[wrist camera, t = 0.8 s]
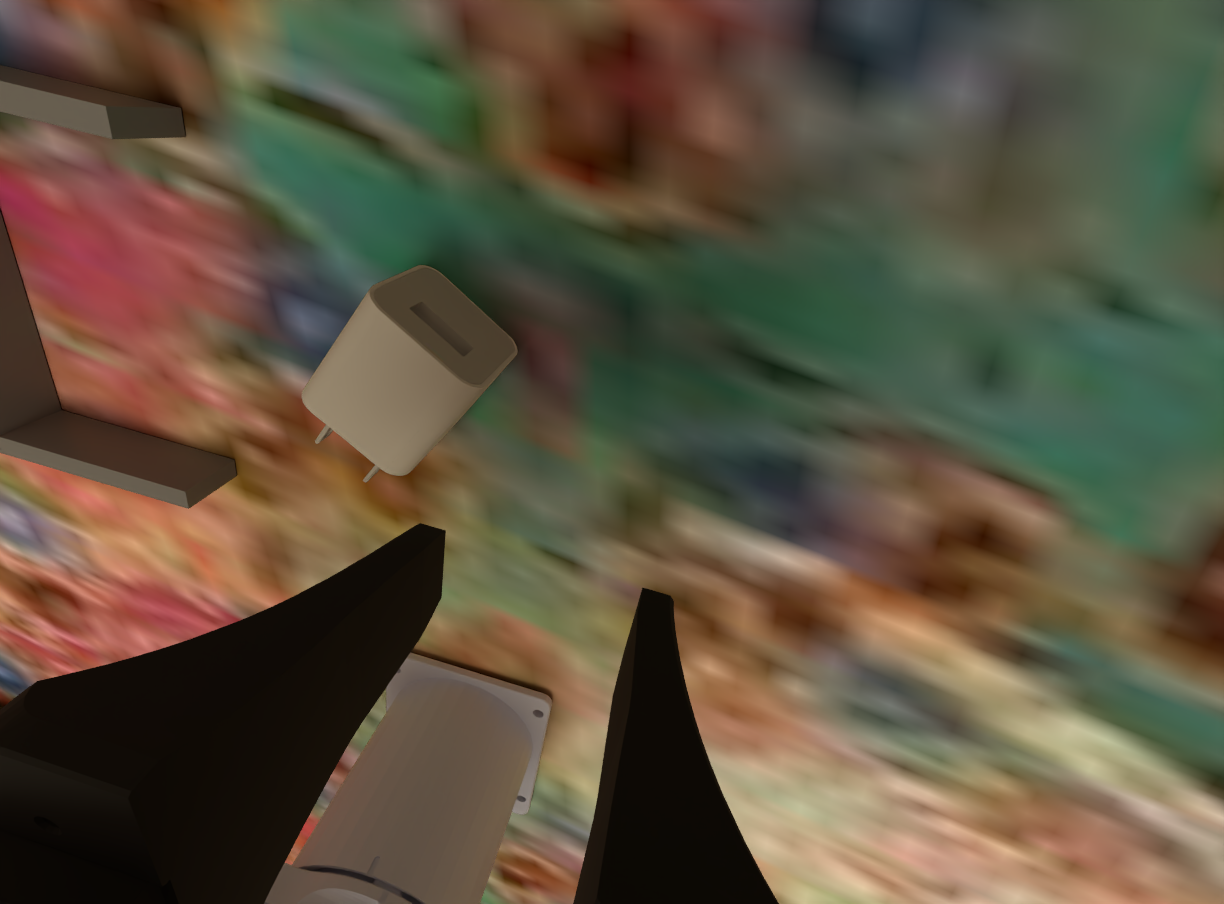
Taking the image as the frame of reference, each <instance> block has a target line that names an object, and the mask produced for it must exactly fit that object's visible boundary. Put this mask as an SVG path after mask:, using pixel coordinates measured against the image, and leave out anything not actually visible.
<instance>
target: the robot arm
mask: <svg viewBox="0 0 1224 904" xmlns="http://www.w3.org/2000/svg"><path fill="white" fill-rule="evenodd" d="M445 532H446V531H445V530H442V529H438V528H435V527H431V526H428V525H424V524H421V523H420V524H418V525H416V526H414V527H413V528H411V529H409V530H408V531H406V532H404V533H403V534H401V535H400V536H398V537H396V538H395V539H393V540H392V541H390V542H388V543H387V544H385V545H384V546H382V547H380V548H379V549H377V550H375V551H374V552H372V553H371V554H369V555H367V556H366V557H364V558H362V559H361V560H359V561H357V562H355V563H354V564H352V565H350V566H349V567H347V568H345V569H344V570H342V571H340V572H338V573H337V574H335V575H333V576H331V577H330V578H328V579H326V580H324V581H322V582H320V583H318V584H316V585H315V586H313V587H311V588H309V589H307V590H305V591H303V592H301V593H299V594H298V595H296V596H294V597H292V598H290V599H287V600H285V601H283V602H281V603H279V604H277V605H275V606H273V607H271V608H268V609H266V610H264V611H262V612H259V613H257V614H255V615H252V616H250V617H248V618H245V619H243V620H241V621H238V622H236V623H233V624H230V625H228V626H225V627H222V628H219V629H217V630H214V631H211V632H209V633H206V634H203V635H201V636H198V637H195V638H193V639H190V640H187V641H184V642H181V643H178V644H175V645H172V646H169V647H166V648H162V649H159V650H156V651H153V652H149V653H146V654H143V655H139V656H136V657H133V658H129V659H126V660H122V661H118V662H115V663H111V664H107V665H103V666H99V667H95V668H91V669H87V670H83V671H79V672H74V673H70V674H66V675H62V676H58V677H54V678H49V679H45V680H40V681H37V682H36V683H34V684H33V685H31V686H30V687H29V688H27V689H26V690H25V691H23V692H22V693H21V694H19V695H18V696H17V697H16V698H14V699H13V700H12V701H10V702H9V703H8V704H7V705H5V706H4V707H3V708H1V709H0V904H480V902H481V899H482V896H483V893H484V890H485V887H486V884H487V881H488V879H489V876H490V873H491V870H492V867H493V864H494V861H495V859H496V856H497V853H498V850H499V847H500V844H501V841H502V839H503V836H504V833H505V830H506V827H507V824H508V821H509V818H510V816H511V813H512V812H513V813H517V814H520V815H524V814H526V813H528V811H529V808H530V804H531V799H532V795H533V790H534V786H535V781H536V776H537V772H538V767H539V762H540V758H541V753H542V749H543V744H544V739H545V735H546V730H547V725H548V721H549V716H550V712H551V707H552V700H551V698H550V697H549V696H548V695H546V694H544V693H541V692H538V691H534V690H531V689H528V688H525V687H521V686H518V685H515V684H512V683H508V682H505V681H502V680H499V679H495V678H492V677H489V676H486V675H482V674H479V673H476V672H473V671H469V670H466V669H463V668H460V667H456V666H453V665H450V664H447V663H443V662H440V661H437V660H434V659H430V658H427V657H424V656H421V655H417V654H414V653H411V651H412V649H413V648H414V646H415V645H416V643H417V642H418V640H419V639H420V637H421V636H422V634H423V632H424V630H425V628H426V626H427V625H428V623H429V621H430V619H431V617H432V615H433V613H434V611H435V609H436V607H437V605H438V603H439V601H440V599H441V596H442V580H443V564H444V548H445ZM385 689H386V714H385V716H384V717H383V719H382V721H381V722H380V724H379V725H378V727H377V729H376V730H375V732H374V734H373V735H372V737H371V738H370V740H369V742H368V743H367V745H366V746H365V748H364V750H363V751H362V753H361V754H360V756H359V758H358V759H357V761H356V763H355V764H354V766H353V767H352V769H351V771H350V772H349V774H348V775H347V777H346V779H345V780H344V782H343V784H342V785H341V787H340V788H339V790H338V792H337V793H336V795H335V796H334V798H333V800H332V801H331V803H330V804H329V806H328V808H327V809H326V811H325V813H324V814H323V816H322V817H321V819H320V821H319V822H318V824H317V825H316V827H315V829H314V830H313V832H312V833H311V835H310V837H309V838H308V840H307V842H306V843H305V845H304V846H303V848H302V850H301V851H300V853H299V854H298V856H297V858H296V859H295V861H294V863H293V864H292V865H289V864H287V863H285V861H286V859H287V857H288V855H289V853H290V851H291V849H292V847H293V845H294V843H295V841H296V839H297V837H298V835H299V833H300V831H301V830H302V828H303V826H304V824H305V822H306V820H307V818H308V817H309V815H310V813H311V811H312V809H313V807H314V805H315V804H316V802H317V800H318V798H319V796H320V794H321V792H322V791H323V789H324V787H325V785H326V783H327V781H328V780H329V778H330V776H331V774H332V772H333V771H334V769H335V767H336V765H337V764H338V762H339V760H340V758H341V756H342V755H343V753H344V751H345V749H346V748H347V746H348V744H349V742H350V741H351V739H352V737H353V736H354V734H355V733H356V731H357V730H358V728H359V726H360V725H361V723H362V722H363V720H364V719H365V717H366V716H367V714H368V713H369V712H370V710H371V709H372V707H373V706H374V704H375V703H376V702H377V700H378V699H379V697H380V696H381V694H382V693H383V691H384V690H385ZM573 904H779V903H778V902H777V900H776V898H775V896H774V895H773V893H772V891H771V889H770V887H769V886H768V884H767V882H766V880H765V879H764V877H763V875H762V873H761V871H760V869H759V868H758V866H757V864H756V862H755V860H754V858H753V856H752V854H751V852H750V850H749V849H748V847H747V845H746V843H745V841H744V839H743V836H742V834H741V832H740V830H739V828H738V826H737V824H736V821H735V819H734V817H733V815H732V813H731V811H730V809H729V807H728V804H727V802H726V800H725V798H724V796H723V794H722V791H721V789H720V786H719V784H718V781H717V779H716V776H715V774H714V771H713V769H712V767H711V764H710V761H709V758H708V756H707V753H706V750H705V747H704V745H703V742H702V739H701V736H700V733H699V730H698V727H697V723H696V720H695V717H694V713H693V710H692V706H691V703H690V699H689V695H688V692H687V688H686V684H685V679H684V675H683V670H682V665H681V661H680V656H679V650H678V644H677V638H676V631H675V622H674V601H673V599H672V598H671V596H670V595H666V594H663V593H660V592H656V591H653V590H649V589H646V588H642V592H641V595H640V599H639V602H638V606H637V609H636V612H635V616H634V619H633V623H632V626H631V630H630V633H629V637H628V640H627V643H626V647H625V650H624V654H623V658H622V662H621V666H620V670H619V674H618V678H617V682H616V686H615V690H614V694H613V699H612V705H611V712H610V718H609V725H608V732H607V738H606V745H605V752H604V758H603V765H602V772H601V778H600V785H599V792H598V798H597V803H596V809H595V814H594V819H593V824H592V828H591V832H590V836H589V840H588V845H587V849H586V853H585V857H584V862H583V866H582V870H581V874H580V878H579V882H578V887H577V891H576V895H575V899H574V903H573Z"/></svg>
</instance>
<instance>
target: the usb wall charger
mask: <svg viewBox="0 0 1224 904" xmlns="http://www.w3.org/2000/svg"><path fill="white" fill-rule="evenodd" d="M517 353H518V349H517V346H516V344H515V342H514V340H513V339H512V338H511V337H510V336H509V335H508V334H507V333H506V332H505V331H504V330H502V329H501V328H500V327H499V326H498V325H497V324H496V323H495V322H494V321H493V320H492V319H491V318H489V317H488V316H487V315H486V314H485V313H484V312H483V311H482V310H481V309H480V308H479V307H478V306H476V305H475V304H474V303H473V302H472V301H471V300H470V299H469V298H468V297H467V296H466V295H465V294H463V293H462V292H461V291H460V290H459V289H458V288H457V287H456V286H455V285H454V284H453V283H452V282H450V281H449V280H448V279H447V278H446V277H445V276H444V275H443V274H442V273H441V272H439V271H437V270H436V269H434V268H432V267H429V266H425V265H418V266H416V267H414V268H411V269H409V270H407V271H405V272H402V273H400V274H398V275H395V276H393V277H391V278H389V279H386V280H384V281H382V282H379V283H377V284H375V285H373V286H372V287H371V288H370V289H369V291H368V292H367V294H366V295H365V297H364V298H363V300H362V301H361V303H360V305H359V306H358V308H357V309H356V311H355V312H354V314H353V315H352V317H351V318H350V320H349V321H348V323H347V324H346V326H345V327H344V329H343V330H342V332H341V333H340V335H339V336H338V338H337V339H336V341H335V342H334V344H333V345H332V347H331V348H330V350H329V351H328V353H327V355H326V356H325V358H324V359H323V361H322V362H321V364H320V365H319V367H318V368H317V370H316V371H315V373H314V374H313V376H312V377H311V379H310V380H309V382H308V383H307V385H306V386H305V388H304V389H303V391H302V400H303V403H304V404H305V406H306V407H307V409H308V410H309V411H310V412H312V413H313V414H314V415H315V416H316V417H318V418H319V419H320V420H321V421H322V422H324V423H325V424H326V426H325V427H324V428H323V430H322V431H321V433H320V434H319V436H318V437H317V439H316V440H315V443H317V444H318V443H320V442H321V441H322V440H324V439H325V438H326V437H328V436H329V435H330V434H331V433H332V431H335V432H336V433H337V434H338V435H340V436H341V437H342V438H343V439H345V440H346V441H347V442H348V443H349V444H351V445H352V446H353V447H354V448H356V449H357V450H358V451H359V452H360V453H362V454H363V455H364V456H365V457H367V458H368V459H369V460H370V461H371V462H373V463H374V464H375V466H374V467H373V468H372V470H371V471H370V472H369V473H368V474H367V476H366V477H365V478H364V480H363V481H364V482H367V481H368V480H369V479H371V478H372V477H373V476H374V475H375V474H376V473H377V472H378V470H379V469H381V470H383V471H385V472H386V473H389V474H392V475H396V476H402V475H406V474H408V473H410V472H411V471H412V470H413V469H414V468H415V467H416V465H417V464H418V463H419V462H420V461H421V460H422V459H423V458H424V457H425V456H426V455H427V454H428V453H429V452H430V451H431V450H432V449H433V448H434V447H435V446H436V445H437V444H438V443H439V442H440V441H441V440H442V439H443V438H444V436H445V435H446V434H447V433H448V432H449V431H450V430H451V429H452V428H453V426H454V425H455V424H456V423H457V422H458V421H459V420H460V418H461V417H462V416H463V415H464V414H465V413H466V412H467V411H468V409H469V408H470V407H471V406H472V405H473V404H474V403H475V402H476V400H477V399H478V398H479V397H480V396H481V395H482V394H483V393H484V391H485V390H486V389H487V388H488V387H489V386H490V385H491V383H492V382H493V381H494V380H495V379H496V378H497V377H498V376H499V374H500V373H501V372H502V371H503V370H504V369H505V368H506V367H507V365H508V364H509V363H510V362H511V361H512V360H513V359H514V358H515V356H516V355H517Z"/></svg>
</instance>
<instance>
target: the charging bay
mask: <svg viewBox="0 0 1224 904" xmlns="http://www.w3.org/2000/svg"><path fill="white" fill-rule="evenodd" d="M0 112H4V113H8V114H13V115H17V116H21V117H25V118H29V119H33V120H37V121H41V122H45V123H49V124H53V125H57V126H61V127H66V128H70V129H74V130H78V131H82V132H86V133H90V134H94V135H98V136H102V137H106V138H110V139H131V138H170V137H185V131H184V124H183V118H182V111H181V108H179V107H174V106H170V105H166V104H162V103H158V102H153V101H149V100H145V99H141V98H137V97H132V96H128V95H124V94H120V93H116V92H111V91H107V90H103V89H99V88H95V87H90V86H86V85H82V84H78V83H74V82H69V81H65V80H61V79H57V78H53V77H48V76H44V75H40V74H36V73H32V72H27V71H23V70H19V69H15V68H11V67H6V66H2V65H0ZM0 453H3V454H6V455H10V456H13V457H16V458H20V459H23V460H26V461H30V462H33V463H37V464H40V465H43V466H47V467H50V468H53V469H57V470H60V471H63V472H67V473H70V474H74V475H77V476H80V477H84V478H87V479H90V480H94V481H97V482H101V483H104V484H107V485H111V486H114V487H117V488H121V489H124V490H127V491H131V492H134V493H138V494H141V495H144V496H148V497H151V498H154V499H158V500H161V501H164V502H168V503H171V504H175V505H178V506H181V507H185V508H188V509H189V508H191V507H192V506H193V505H195V504H196V503H198V502H199V501H201V500H202V499H204V498H205V497H207V496H208V495H209V494H211V493H212V492H214V491H215V490H217V489H218V488H220V487H221V486H223V485H224V484H226V483H227V482H228V481H230V480H231V479H233V478H234V477H236V476H237V474H236V468H235V461H234V460H233V459H230V458H226V457H223V456H219V455H216V454H212V453H209V452H205V451H202V450H198V449H195V448H192V447H188V446H185V445H181V444H178V443H174V442H171V441H167V440H164V439H160V438H157V437H153V436H150V435H146V434H143V433H139V432H136V431H132V430H129V429H126V428H122V427H119V426H115V425H112V424H108V423H105V422H101V421H98V420H94V419H91V418H87V417H84V416H80V415H77V414H73V413H70V412H66V411H63V410H61V407H60V404H59V400H58V397H57V394H56V391H55V387H54V384H53V381H52V378H51V374H50V371H49V368H48V365H47V361H46V358H45V355H44V352H43V348H42V345H41V342H40V339H39V335H38V332H37V329H36V326H35V322H34V319H33V316H32V313H31V309H30V306H29V303H28V300H27V296H26V293H25V290H24V287H23V283H22V280H21V277H20V274H19V270H18V267H17V264H16V261H15V257H14V254H13V251H12V248H11V244H10V241H9V238H8V235H7V231H6V228H5V225H4V222H3V218H2V215H1V212H0Z"/></svg>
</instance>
